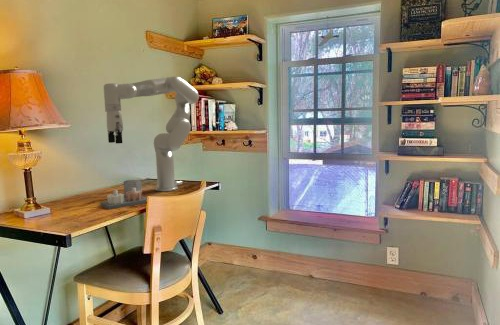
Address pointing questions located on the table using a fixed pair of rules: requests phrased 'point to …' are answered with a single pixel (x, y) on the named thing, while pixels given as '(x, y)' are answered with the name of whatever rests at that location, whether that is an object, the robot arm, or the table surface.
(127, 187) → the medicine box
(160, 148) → the robot arm
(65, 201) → the table surface
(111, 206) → the gear board
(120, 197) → the gear
